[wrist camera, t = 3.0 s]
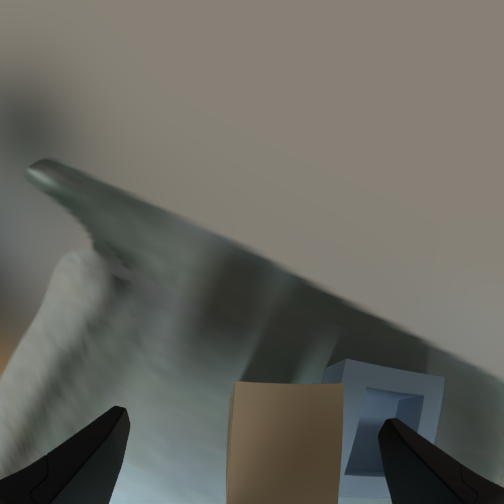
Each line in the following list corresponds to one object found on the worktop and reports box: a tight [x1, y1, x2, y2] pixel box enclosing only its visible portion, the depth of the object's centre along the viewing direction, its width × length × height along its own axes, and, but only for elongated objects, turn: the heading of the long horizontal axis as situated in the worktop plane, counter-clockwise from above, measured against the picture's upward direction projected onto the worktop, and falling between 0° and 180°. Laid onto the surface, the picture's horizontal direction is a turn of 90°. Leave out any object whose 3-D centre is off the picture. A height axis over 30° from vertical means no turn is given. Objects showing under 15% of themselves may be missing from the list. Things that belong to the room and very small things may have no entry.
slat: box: [226, 381, 344, 504], centre depth 10 cm, size 3×2×13 cm, turn 177°
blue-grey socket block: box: [322, 358, 445, 498], centre depth 14 cm, size 8×7×4 cm
